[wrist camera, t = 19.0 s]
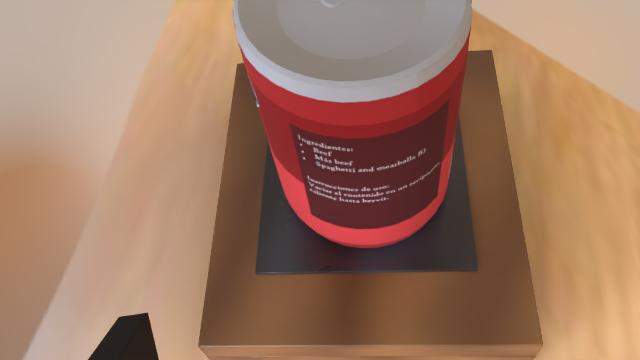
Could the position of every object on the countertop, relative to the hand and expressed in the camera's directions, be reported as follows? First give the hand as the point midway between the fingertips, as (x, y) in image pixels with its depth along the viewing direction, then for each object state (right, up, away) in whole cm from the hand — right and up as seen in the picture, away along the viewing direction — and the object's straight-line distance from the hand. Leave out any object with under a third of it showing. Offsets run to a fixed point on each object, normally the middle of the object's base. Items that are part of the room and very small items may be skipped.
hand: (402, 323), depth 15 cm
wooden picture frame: (0, +2, +16) cm, 16 cm away
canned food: (0, +4, +13) cm, 13 cm away
